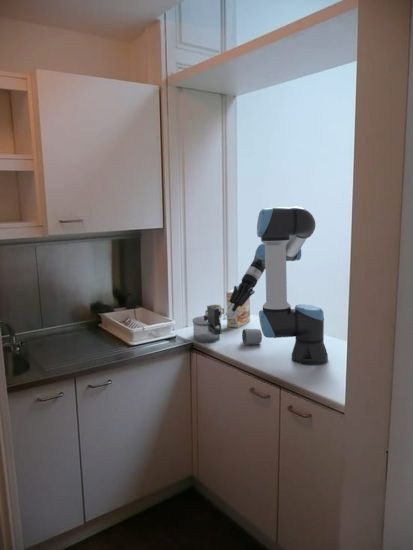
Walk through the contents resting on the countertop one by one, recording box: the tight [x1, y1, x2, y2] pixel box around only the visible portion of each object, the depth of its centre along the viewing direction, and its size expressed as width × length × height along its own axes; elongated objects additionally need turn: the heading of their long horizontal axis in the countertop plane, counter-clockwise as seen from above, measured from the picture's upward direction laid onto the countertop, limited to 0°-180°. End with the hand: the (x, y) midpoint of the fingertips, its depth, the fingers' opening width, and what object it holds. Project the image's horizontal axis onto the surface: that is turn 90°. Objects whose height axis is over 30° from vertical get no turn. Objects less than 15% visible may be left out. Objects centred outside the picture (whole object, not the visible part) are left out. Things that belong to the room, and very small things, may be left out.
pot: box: [192, 322, 222, 344], centre depth 225 cm, size 25×13×9 cm, turn 24°
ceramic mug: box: [241, 328, 263, 346], centre depth 218 cm, size 11×8×8 cm
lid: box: [191, 304, 221, 326], centre depth 222 cm, size 20×14×9 cm
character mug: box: [204, 304, 225, 330], centre depth 242 cm, size 11×7×13 cm, turn 113°
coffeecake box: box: [225, 288, 251, 329], centre depth 251 cm, size 15×7×20 cm, turn 147°
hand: (228, 315), depth 221 cm, fingers closed
